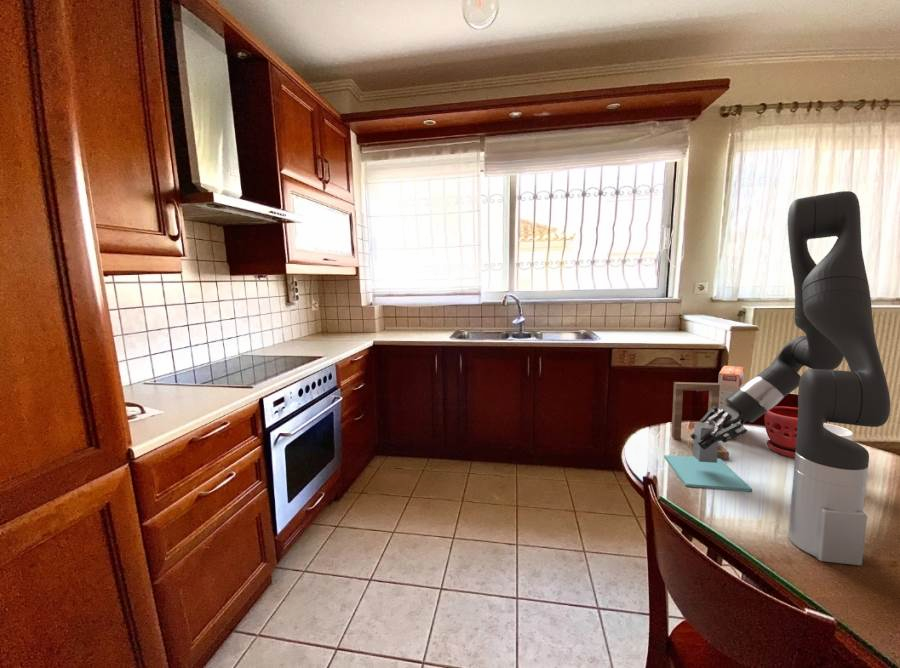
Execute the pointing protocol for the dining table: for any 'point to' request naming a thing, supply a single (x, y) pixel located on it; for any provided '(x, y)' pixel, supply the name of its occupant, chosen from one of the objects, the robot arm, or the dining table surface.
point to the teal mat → (706, 473)
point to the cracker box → (729, 383)
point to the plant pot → (782, 429)
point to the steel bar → (700, 433)
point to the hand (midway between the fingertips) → (697, 442)
